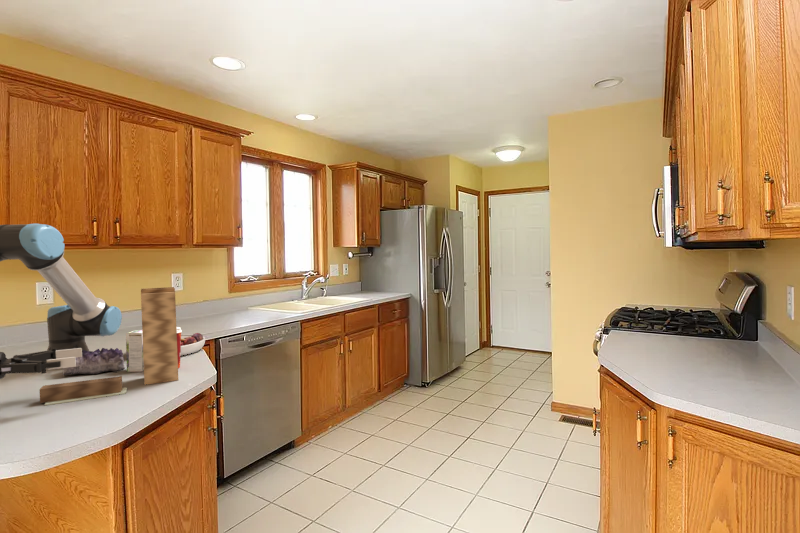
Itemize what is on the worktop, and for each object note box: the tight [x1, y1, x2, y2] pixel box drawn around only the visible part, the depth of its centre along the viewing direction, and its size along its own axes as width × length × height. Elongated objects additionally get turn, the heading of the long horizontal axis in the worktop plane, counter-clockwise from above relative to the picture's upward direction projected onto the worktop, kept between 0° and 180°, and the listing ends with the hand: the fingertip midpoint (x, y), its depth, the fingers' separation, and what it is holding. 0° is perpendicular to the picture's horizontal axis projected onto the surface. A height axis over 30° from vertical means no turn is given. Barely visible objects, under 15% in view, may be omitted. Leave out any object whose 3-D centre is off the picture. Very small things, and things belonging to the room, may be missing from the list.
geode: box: [62, 347, 126, 376], centre depth 164 cm, size 20×12×10 cm, turn 108°
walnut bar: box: [39, 375, 123, 404], centre depth 135 cm, size 20×4×4 cm, turn 116°
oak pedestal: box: [140, 286, 179, 386], centre depth 153 cm, size 10×10×31 cm
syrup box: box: [125, 329, 144, 373], centre depth 165 cm, size 6×6×14 cm
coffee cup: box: [176, 326, 183, 369], centre depth 167 cm, size 8×8×15 cm
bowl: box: [180, 332, 206, 357], centre depth 193 cm, size 30×30×8 cm
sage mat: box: [44, 387, 128, 406], centre depth 136 cm, size 20×6×1 cm, turn 119°
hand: (78, 356), depth 134 cm, fingers open, 13 cm apart
